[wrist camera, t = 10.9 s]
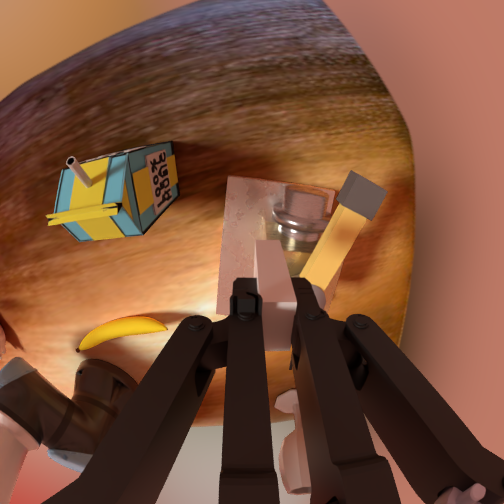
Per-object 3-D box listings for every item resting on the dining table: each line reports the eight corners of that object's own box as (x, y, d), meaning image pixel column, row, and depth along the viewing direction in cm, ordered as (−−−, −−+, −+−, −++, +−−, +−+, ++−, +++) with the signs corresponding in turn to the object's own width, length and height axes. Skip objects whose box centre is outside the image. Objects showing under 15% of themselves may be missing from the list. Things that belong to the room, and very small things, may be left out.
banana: (179, 315, 43) (170, 343, 37) (94, 334, 46) (80, 357, 40) (170, 301, 42) (160, 328, 36) (85, 322, 44) (71, 345, 39)
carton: (174, 133, 31) (100, 148, 15) (182, 194, 35) (124, 261, 18) (119, 144, 32) (24, 172, 15) (129, 201, 35) (50, 266, 19)
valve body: (301, 317, 43) (311, 364, 34) (216, 309, 42) (209, 356, 33) (333, 189, 34) (359, 213, 25) (228, 174, 34) (219, 194, 25)
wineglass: (324, 392, 52) (342, 483, 33) (301, 413, 55) (311, 496, 36) (288, 383, 50) (298, 482, 31) (266, 405, 53) (269, 495, 34)
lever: (308, 314, 30) (311, 326, 28) (272, 301, 29) (273, 313, 28) (383, 189, 24) (392, 194, 22) (345, 167, 23) (352, 171, 21)
